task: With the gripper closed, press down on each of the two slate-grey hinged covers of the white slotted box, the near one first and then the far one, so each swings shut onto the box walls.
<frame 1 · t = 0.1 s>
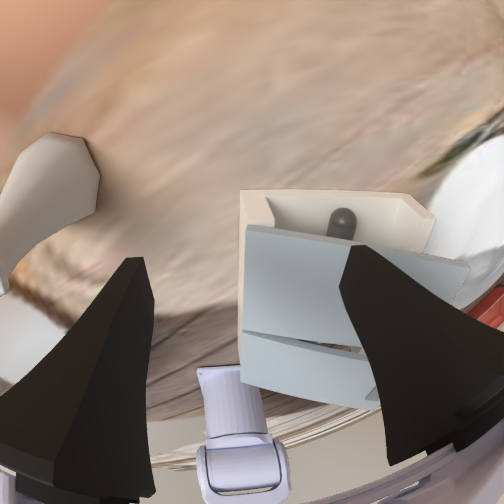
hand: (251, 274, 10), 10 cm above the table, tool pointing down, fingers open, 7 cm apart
flask: (59, 178, 16), on the table
cover a: (319, 379, 22), point 8 cm above the table, hinge at 26.0°
white slotted box: (315, 281, 25), on the table
cover b: (352, 303, 17), point 7 cm above the table, hinge at 20.0°
plant saucer: (470, 320, 41), on the table
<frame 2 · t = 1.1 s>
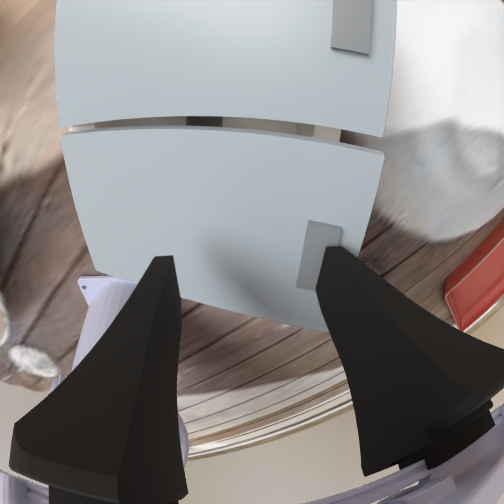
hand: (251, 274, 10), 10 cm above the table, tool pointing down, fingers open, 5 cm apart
cover a: (186, 228, 12), point 7 cm above the table, hinge at 24.1°
white slotted box: (204, 100, 15), on the table
cover b: (187, 8, 7), point 7 cm above the table, hinge at 20.0°
plant saucer: (483, 265, 31), on the table
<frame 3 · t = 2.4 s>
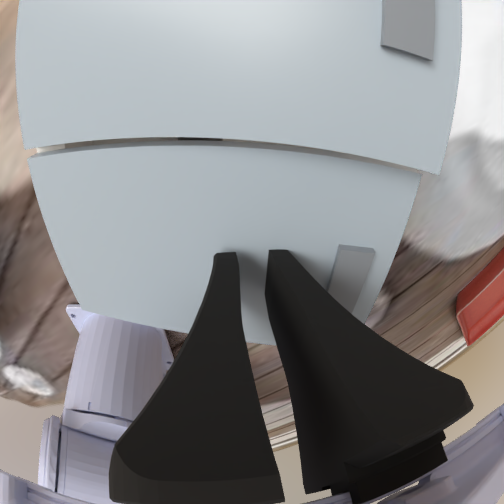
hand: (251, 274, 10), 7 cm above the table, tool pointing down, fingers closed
cover a: (192, 261, 10), point 6 cm above the table, hinge at 15.4°, touching gripper
white slotted box: (200, 108, 12), on the table
plant saucer: (494, 278, 29), on the table
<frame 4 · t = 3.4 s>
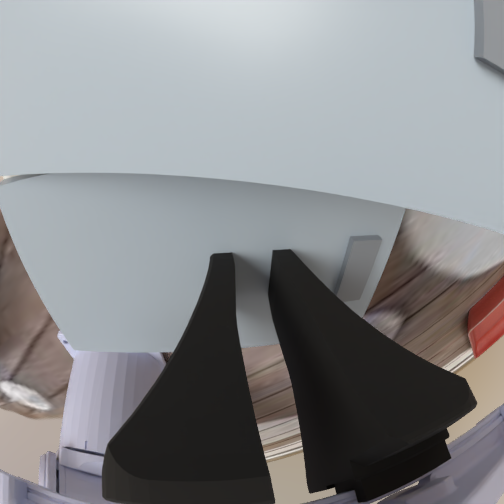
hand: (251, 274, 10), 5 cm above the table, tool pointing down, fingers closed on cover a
cover a: (204, 277, 9), point 4 cm above the table, hinge at -0.1°, touching gripper
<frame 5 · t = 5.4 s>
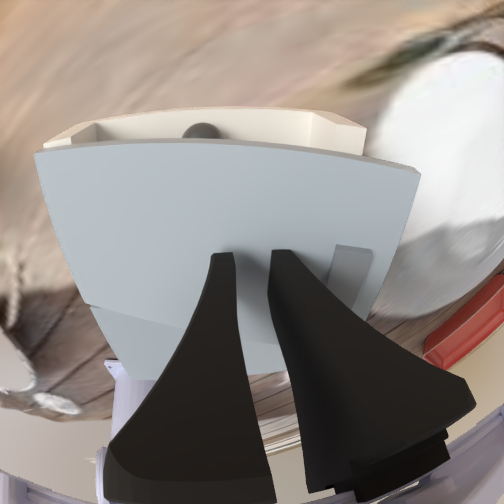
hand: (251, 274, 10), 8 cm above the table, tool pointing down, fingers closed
cover a: (214, 346, 17), point 4 cm above the table, hinge at -0.1°
white slotted box: (207, 248, 18), on the table
cover b: (191, 257, 10), point 7 cm above the table, hinge at 17.9°, touching gripper
plant saucer: (466, 318, 34), on the table
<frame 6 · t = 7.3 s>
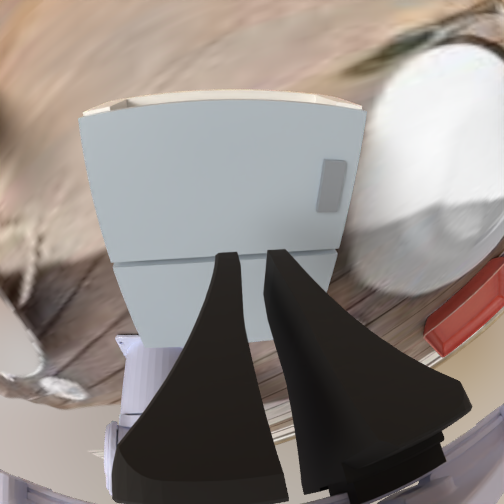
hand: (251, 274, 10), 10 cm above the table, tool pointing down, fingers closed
cover a: (228, 307, 19), point 4 cm above the table, hinge at -0.1°
white slotted box: (222, 217, 20), on the table
cover b: (225, 185, 14), point 4 cm above the table, hinge at -0.2°, touching white slotted box
plant saucer: (465, 302, 36), on the table
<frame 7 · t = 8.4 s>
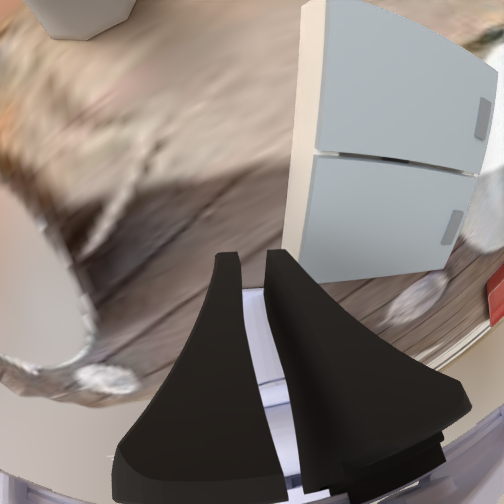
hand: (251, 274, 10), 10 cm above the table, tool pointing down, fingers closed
cover a: (401, 226, 17), point 4 cm above the table, hinge at -0.1°
white slotted box: (382, 143, 18), on the table
cover b: (431, 96, 12), point 4 cm above the table, hinge at -0.2°, touching white slotted box
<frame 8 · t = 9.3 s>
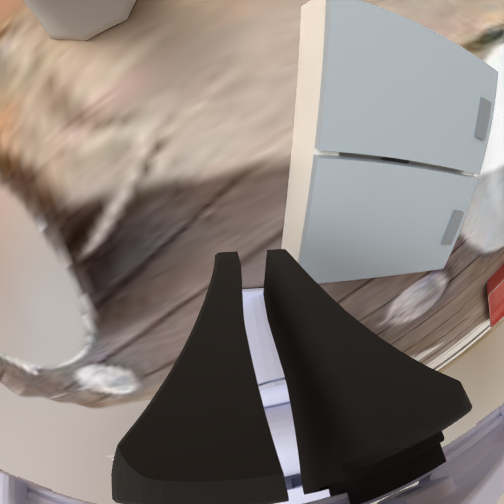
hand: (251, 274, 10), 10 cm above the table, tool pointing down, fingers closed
cover a: (401, 226, 17), point 4 cm above the table, hinge at -0.1°
white slotted box: (382, 143, 18), on the table
cover b: (431, 96, 12), point 4 cm above the table, hinge at -0.2°, touching white slotted box
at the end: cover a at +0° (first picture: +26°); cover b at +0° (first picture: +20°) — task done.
